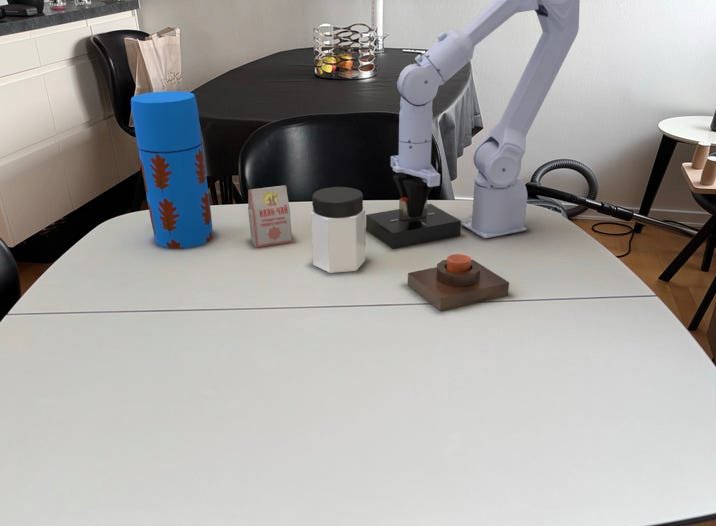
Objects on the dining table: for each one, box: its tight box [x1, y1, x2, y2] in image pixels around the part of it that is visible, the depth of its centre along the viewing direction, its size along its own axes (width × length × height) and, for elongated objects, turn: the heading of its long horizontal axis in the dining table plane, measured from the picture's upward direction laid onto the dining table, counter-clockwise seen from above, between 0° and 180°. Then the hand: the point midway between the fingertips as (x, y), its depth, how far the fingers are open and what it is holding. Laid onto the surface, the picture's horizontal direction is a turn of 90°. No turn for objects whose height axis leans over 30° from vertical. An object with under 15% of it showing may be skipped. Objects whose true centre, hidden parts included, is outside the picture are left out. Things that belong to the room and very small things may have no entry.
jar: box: [310, 186, 366, 274], centre depth 113 cm, size 9×8×12 cm
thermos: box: [130, 90, 214, 250], centre depth 121 cm, size 11×11×25 cm
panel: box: [365, 203, 462, 250], centre depth 127 cm, size 14×11×3 cm
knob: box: [398, 197, 428, 221], centre depth 125 cm, size 5×2×4 cm, turn 115°
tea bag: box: [247, 185, 293, 248], centre depth 123 cm, size 4×7×10 cm, turn 111°
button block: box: [407, 259, 510, 312], centre depth 105 cm, size 12×10×4 cm
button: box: [446, 253, 472, 272], centre depth 104 cm, size 4×4×2 cm
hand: (412, 215), depth 126 cm, fingers closed on knob, 2 cm apart
